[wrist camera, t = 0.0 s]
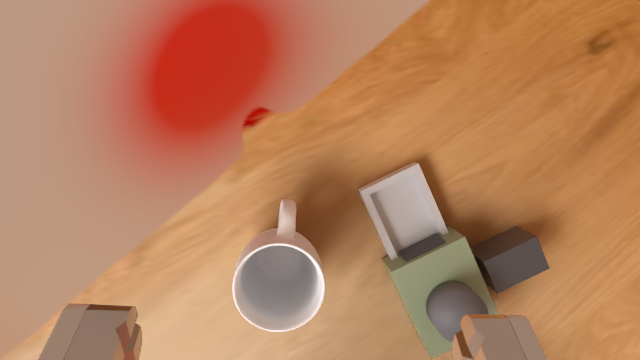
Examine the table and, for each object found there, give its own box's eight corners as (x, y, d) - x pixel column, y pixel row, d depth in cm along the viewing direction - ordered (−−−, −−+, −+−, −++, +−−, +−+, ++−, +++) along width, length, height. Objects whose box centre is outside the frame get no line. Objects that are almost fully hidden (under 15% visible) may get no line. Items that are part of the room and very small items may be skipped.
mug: (249, 186, 66) (241, 204, 53) (326, 196, 67) (337, 215, 54) (237, 287, 68) (226, 328, 55) (312, 295, 69) (319, 337, 56)
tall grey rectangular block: (527, 255, 70) (549, 268, 65) (479, 278, 70) (497, 293, 64) (515, 226, 70) (536, 236, 64) (466, 249, 70) (483, 262, 64)
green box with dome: (484, 307, 71) (517, 338, 61) (419, 338, 71) (441, 374, 61) (420, 158, 67) (443, 166, 57) (351, 191, 67) (362, 205, 57)
